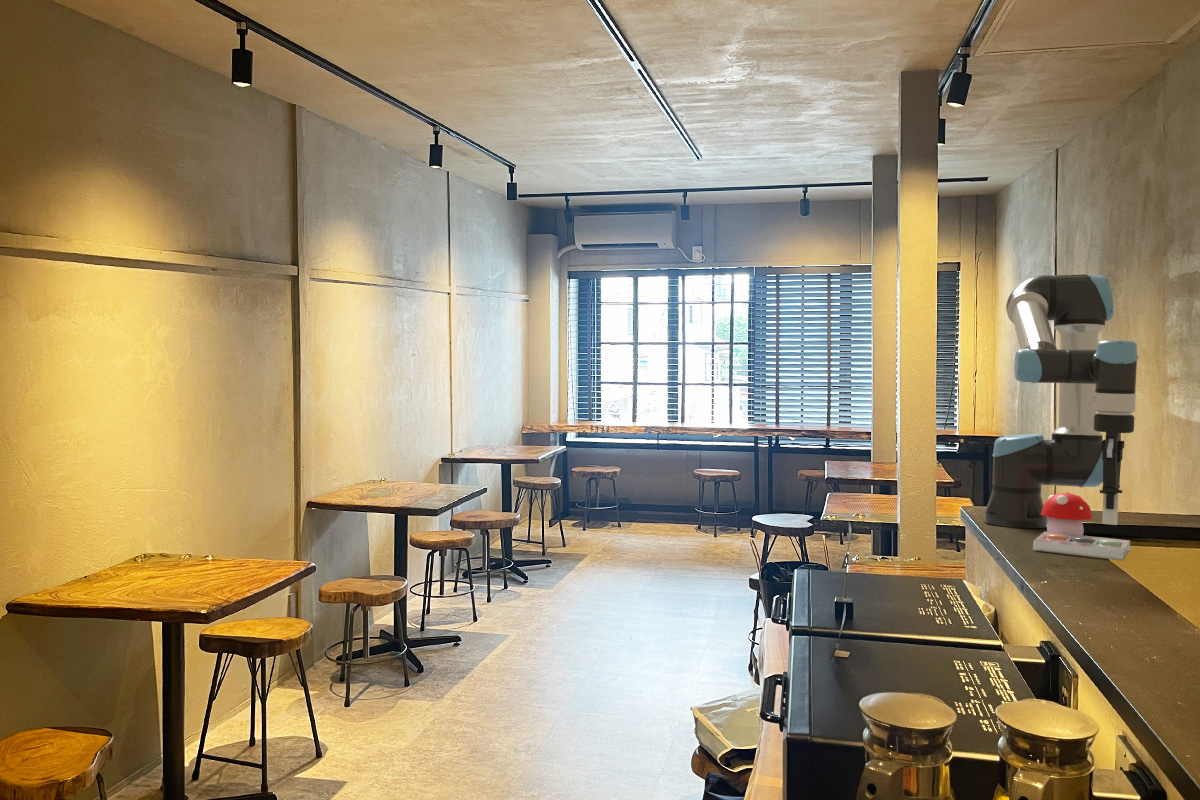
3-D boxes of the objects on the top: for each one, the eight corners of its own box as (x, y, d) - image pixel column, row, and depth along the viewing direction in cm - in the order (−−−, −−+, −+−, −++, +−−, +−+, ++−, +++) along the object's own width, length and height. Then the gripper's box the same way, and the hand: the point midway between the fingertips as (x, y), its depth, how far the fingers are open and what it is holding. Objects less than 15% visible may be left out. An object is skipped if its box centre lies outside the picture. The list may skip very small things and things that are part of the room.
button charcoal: (1072, 545, 204) (1073, 535, 204) (1093, 548, 202) (1093, 537, 202) (1070, 548, 201) (1070, 538, 201) (1090, 550, 199) (1091, 540, 199)
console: (1044, 546, 212) (1044, 531, 212) (1129, 556, 203) (1130, 540, 202) (1032, 556, 201) (1033, 540, 201) (1122, 567, 191) (1123, 550, 191)
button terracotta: (1046, 542, 207) (1047, 532, 207) (1066, 545, 205) (1067, 535, 205) (1043, 545, 204) (1044, 535, 204) (1063, 547, 202) (1064, 537, 202)
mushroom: (1056, 538, 224) (1058, 488, 223) (1101, 545, 214) (1103, 494, 214) (1030, 542, 218) (1032, 491, 217) (1076, 550, 209) (1078, 497, 208)
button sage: (1099, 548, 201) (1099, 538, 201) (1120, 551, 199) (1121, 540, 199) (1097, 551, 198) (1097, 541, 198) (1118, 554, 196) (1119, 543, 196)
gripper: (1098, 411, 205) (1093, 517, 206) (1090, 414, 194) (1085, 526, 195) (1137, 412, 201) (1132, 521, 202) (1131, 415, 190) (1126, 530, 191)
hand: (1109, 523), depth 199 cm, fingers closed
